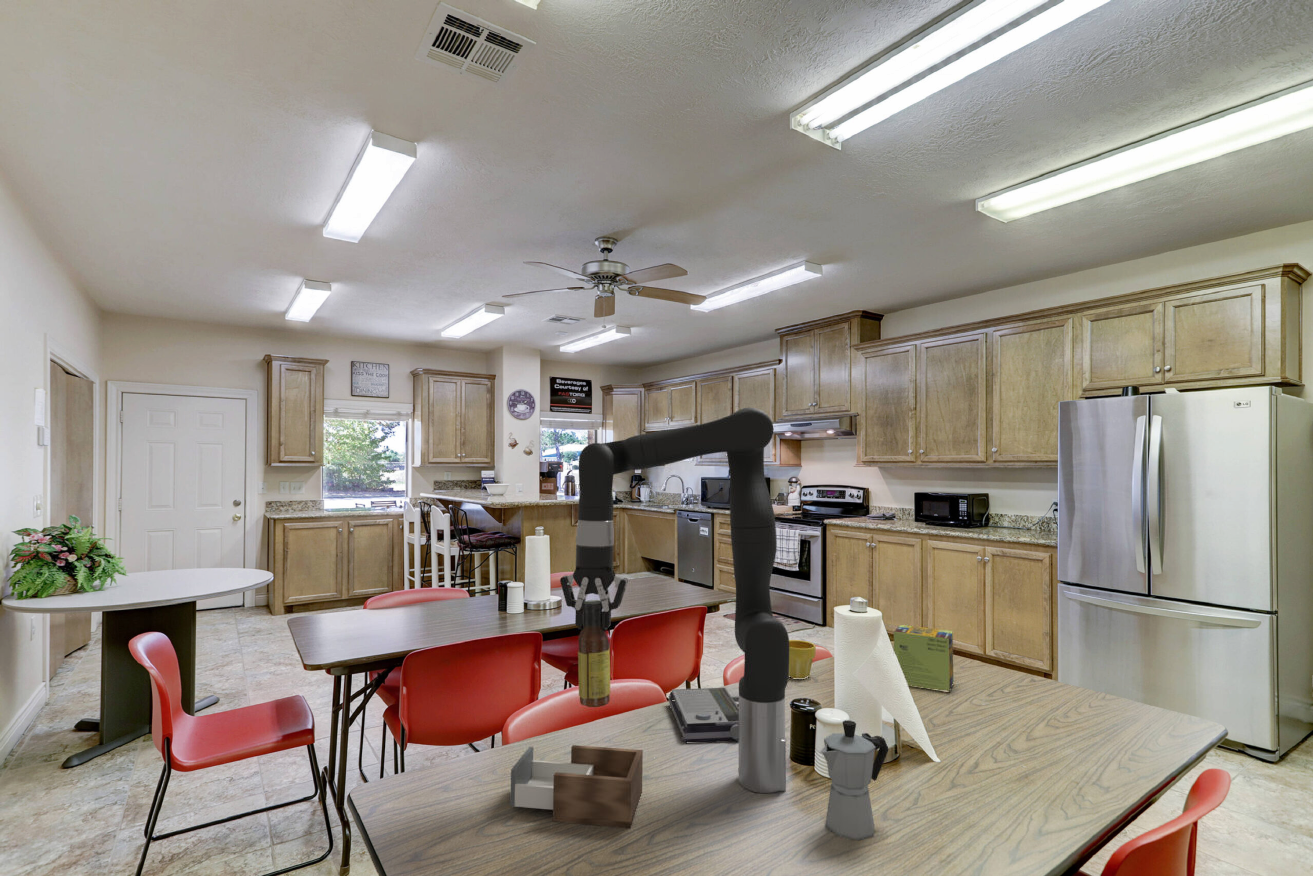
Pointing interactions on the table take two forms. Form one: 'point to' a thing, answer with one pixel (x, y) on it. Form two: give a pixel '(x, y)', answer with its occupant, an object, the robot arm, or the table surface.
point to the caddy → (600, 787)
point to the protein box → (925, 656)
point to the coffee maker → (852, 780)
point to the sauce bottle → (593, 658)
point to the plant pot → (800, 658)
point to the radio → (706, 714)
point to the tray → (539, 780)
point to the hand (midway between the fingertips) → (592, 628)
